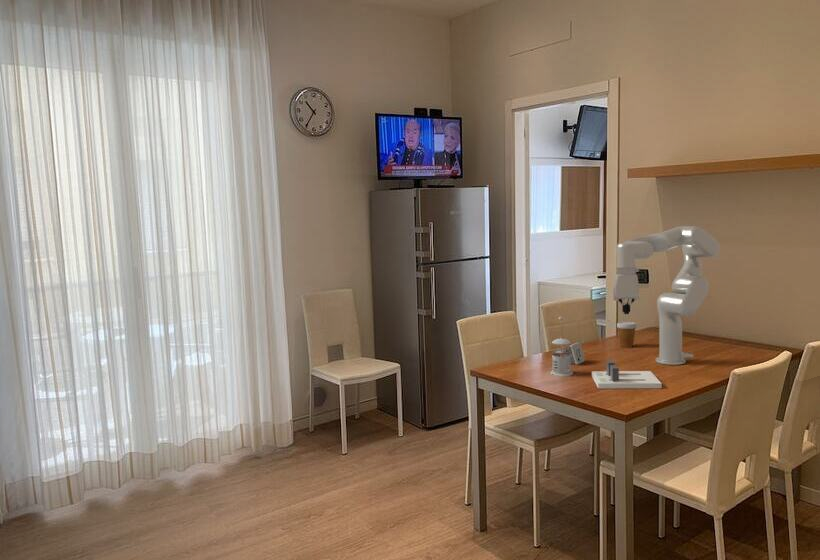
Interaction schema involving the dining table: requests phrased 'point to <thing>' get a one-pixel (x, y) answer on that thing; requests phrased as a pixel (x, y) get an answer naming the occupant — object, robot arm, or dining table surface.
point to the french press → (561, 358)
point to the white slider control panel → (626, 379)
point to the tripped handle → (614, 372)
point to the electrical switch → (576, 353)
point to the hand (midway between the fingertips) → (626, 313)
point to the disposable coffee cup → (626, 333)
